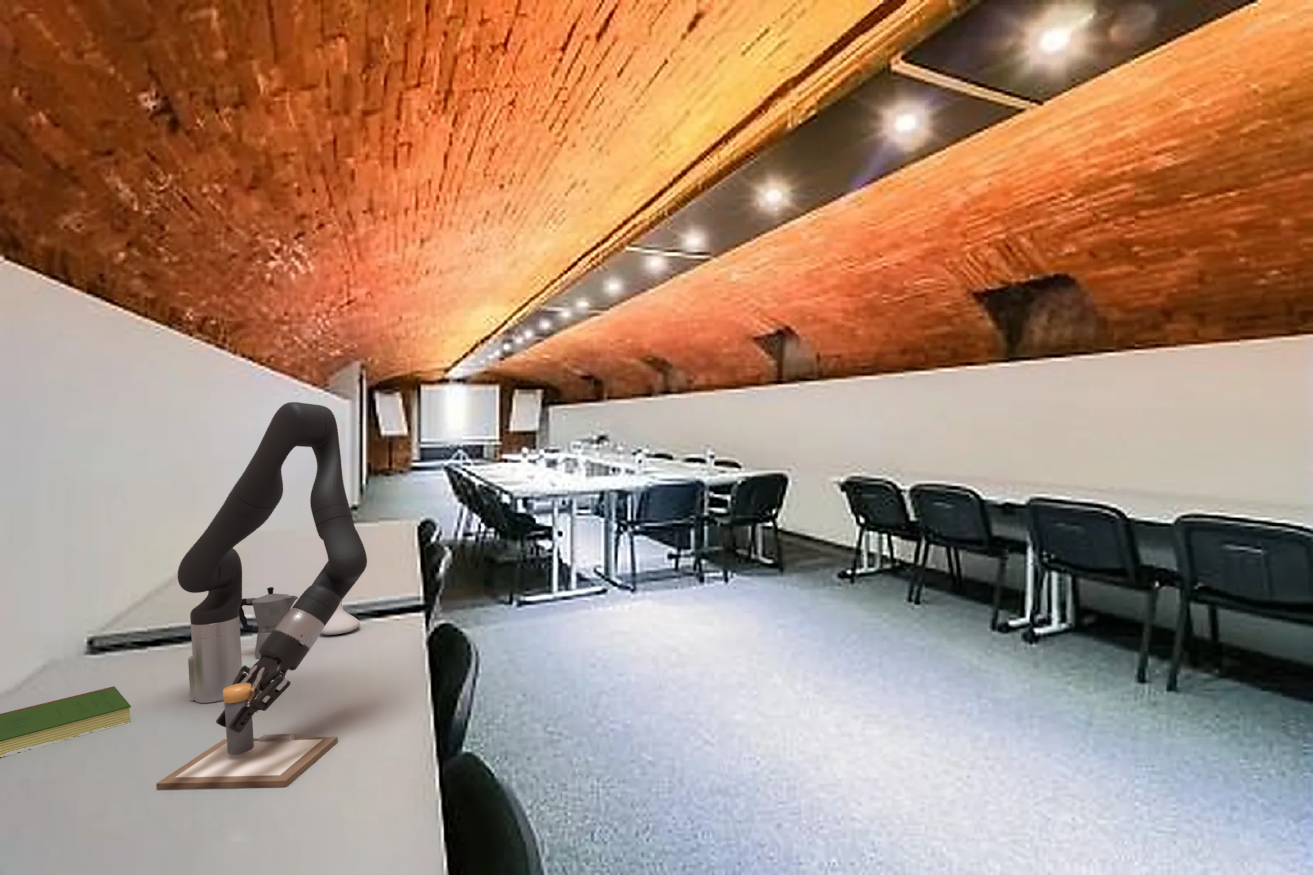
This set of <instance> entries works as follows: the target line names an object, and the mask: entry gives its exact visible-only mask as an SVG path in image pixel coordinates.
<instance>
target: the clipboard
mask: <svg viewBox="0 0 1313 875" xmlns="http://www.w3.org/2000/svg"><path fill="white" fill-rule="evenodd" d="M338 742H339V736H312V737H311V736H309V737H307V736H306V737H304V736H303V737H301V736H300V737H298V736H297V737H296V734H295V733H273V734H272V733H271V734H265V733H264V734H263V735H261V736H260V737H259V738H254V747H253V748H252V749H251V750H249V751H247V752H245V753H241V754H236V755H230V754H228V753H227V738H225V739H222V740H221V741H219V742H218V743H216V744H215V745H213V746H211V747H210V748H208V749H207V750H205V751H204V752H202V753H201V754H199V755H197V756H196V757H194V758H193V759H191V760H190V761H189V762H187V763H184V765H182V766H181V767H179V768H177V769H175V771H173V772H172V773H170V774H168V775H167V776H166V777H164V778H163V779H161V780H159V781H158V782H156V785H155V787H156V790H159V791H161V790H198V789H200V790H202V789H207V790H208V789H210V790H211V789H251V788H252V789H253V788H287V787H288V786H289V785H290V784H291V783H293V782H294V781H295V780H296V779H297V778H298V777H300V776H301V775H302V774H303V773H305V771H306V770H308V769H309V768H310V767H311V766H312V765H314V763H316V762H317V761H318V760H319V759H320V758H322V757H323V756H324V755H325V754H326V753H327V752H328V751H329V750H330V749H332V748H333V747H334V746H335V745H336V744H337V743H338ZM332 746H333V747H332ZM331 747H332V748H331Z"/></svg>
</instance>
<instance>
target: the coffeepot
mask: <svg viewBox="0 0 1313 875" xmlns="http://www.w3.org/2000/svg"><path fill="white" fill-rule="evenodd" d="M266 589H267V594H265V595H262V596H260V597H248V598H247V597H246V598H242V602H241V605H240V608H239V621H240V623H241V626H242V627H243V629H244V630H252V629H253V627H254V624H251V625H250V624H248V619H247V617H246V615H245V611H244V609H243V607H244V606H247V607H248V606H251V607H252V608H253V612H254V616H255V621H256V625H257V626H258V627H257V628H258V631H257V636H256V644H255V650H254V651H255V652H254V656H255V659H257V660H260V659H261V655H260V654H259V652H258V650H259V648H260V647H261V646H262V644H263V643H264V642H265V640H266V639H267V638H268V636H269V635H270V634H271V632H272V631H273V630H274V628H275V627H276V626H277V624H278V623H279V622H280V620H281V619H282V618H283V617H284V616H285V615H286V614H287V613H288V612H289V611H290V609H291V608H292V607H293V606H294V604H295V603H296V601H297V600H298V599H299V597H298V596H296V595H289V594H288V593H274V589H275V588H274V587H273V586H272V587H271V586H269V587H267V588H266Z"/></svg>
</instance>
